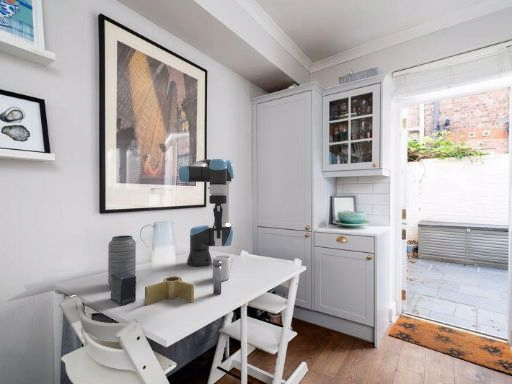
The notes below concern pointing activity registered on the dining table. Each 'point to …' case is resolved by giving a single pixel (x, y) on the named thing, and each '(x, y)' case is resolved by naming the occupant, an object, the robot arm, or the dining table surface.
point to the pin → (217, 277)
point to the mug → (224, 266)
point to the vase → (121, 255)
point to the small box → (123, 288)
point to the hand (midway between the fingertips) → (217, 243)
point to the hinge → (169, 290)
